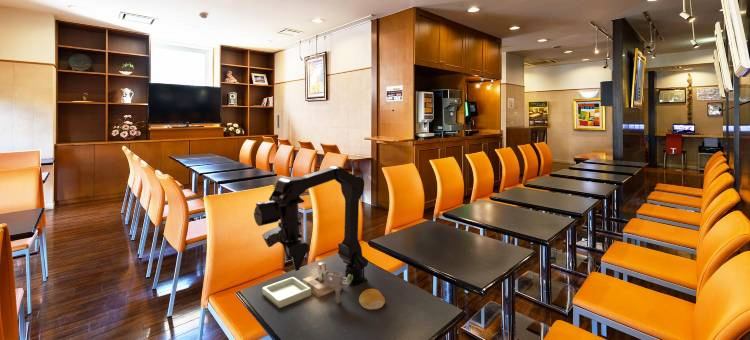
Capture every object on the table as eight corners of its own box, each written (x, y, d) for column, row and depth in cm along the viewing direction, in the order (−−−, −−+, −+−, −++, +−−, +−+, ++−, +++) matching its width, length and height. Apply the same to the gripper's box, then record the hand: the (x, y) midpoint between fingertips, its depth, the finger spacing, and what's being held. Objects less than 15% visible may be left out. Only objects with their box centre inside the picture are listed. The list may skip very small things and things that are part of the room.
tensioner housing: (326, 277, 135) (325, 270, 135) (342, 287, 128) (341, 279, 127) (303, 286, 129) (302, 279, 128) (318, 297, 121) (318, 289, 121)
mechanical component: (351, 305, 116) (351, 277, 114) (321, 302, 118) (320, 274, 116) (354, 301, 119) (353, 272, 117) (324, 298, 121) (323, 270, 119)
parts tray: (293, 282, 132) (293, 276, 131) (311, 295, 123) (311, 288, 122) (262, 294, 124) (262, 287, 123) (279, 308, 115) (278, 300, 114)
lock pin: (323, 284, 130) (322, 261, 129) (328, 287, 128) (327, 263, 127) (316, 287, 128) (315, 263, 127) (321, 290, 126) (320, 266, 125)
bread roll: (379, 294, 123) (379, 283, 123) (387, 307, 115) (387, 296, 114) (355, 298, 121) (355, 287, 120) (362, 312, 112) (362, 300, 112)
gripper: (257, 215, 116) (261, 259, 119) (270, 231, 100) (274, 283, 103) (291, 209, 122) (294, 252, 124) (308, 224, 105) (311, 274, 108)
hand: (293, 264), depth 115 cm, fingers open, 9 cm apart
